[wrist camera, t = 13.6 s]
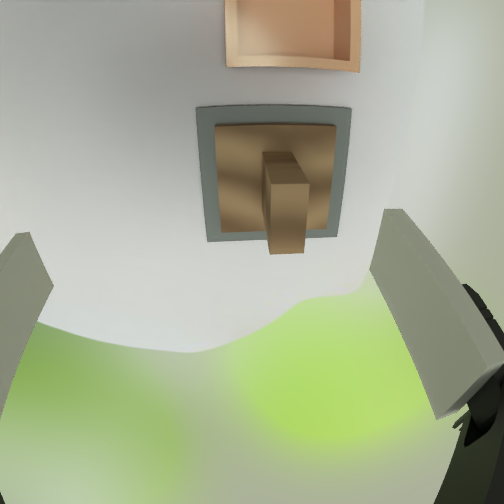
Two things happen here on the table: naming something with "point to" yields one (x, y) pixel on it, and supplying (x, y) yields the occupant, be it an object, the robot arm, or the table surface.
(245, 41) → the open tan tray
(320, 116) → the mat
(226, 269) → the table surface
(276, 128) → the lid
